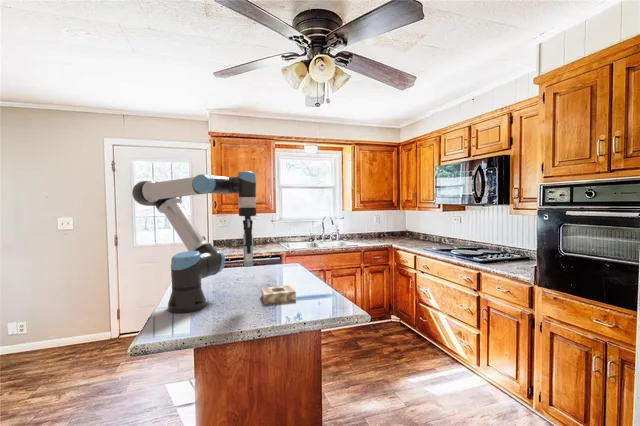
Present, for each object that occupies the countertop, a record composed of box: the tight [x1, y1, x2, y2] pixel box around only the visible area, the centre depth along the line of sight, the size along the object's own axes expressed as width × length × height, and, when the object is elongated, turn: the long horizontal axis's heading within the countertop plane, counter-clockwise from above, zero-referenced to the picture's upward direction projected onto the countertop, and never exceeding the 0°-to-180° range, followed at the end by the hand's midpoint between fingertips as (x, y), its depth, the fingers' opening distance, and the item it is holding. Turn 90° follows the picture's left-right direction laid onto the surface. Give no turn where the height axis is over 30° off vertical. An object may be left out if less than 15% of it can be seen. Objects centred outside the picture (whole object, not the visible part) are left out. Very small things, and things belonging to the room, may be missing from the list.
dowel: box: [242, 233, 254, 268], centre depth 140 cm, size 4×4×14 cm
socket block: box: [260, 284, 297, 305], centre depth 146 cm, size 14×12×4 cm
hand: (248, 259), depth 140 cm, fingers closed on dowel, 4 cm apart
